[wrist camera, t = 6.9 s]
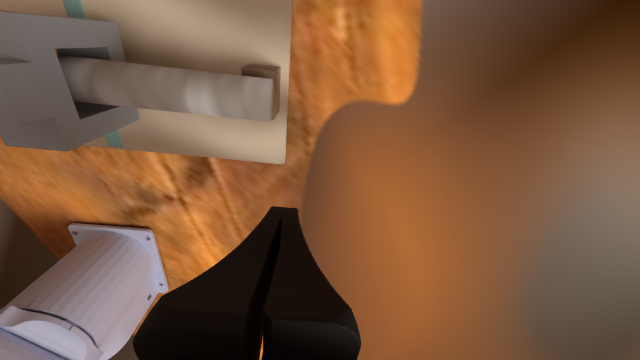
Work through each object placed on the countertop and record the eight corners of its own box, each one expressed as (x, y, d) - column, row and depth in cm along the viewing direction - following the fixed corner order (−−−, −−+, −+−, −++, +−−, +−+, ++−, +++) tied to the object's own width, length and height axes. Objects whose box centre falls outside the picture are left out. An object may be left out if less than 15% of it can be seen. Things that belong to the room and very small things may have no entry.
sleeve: (139, 119, 18) (37, 164, 12) (96, 115, 18) (-33, 158, 11) (116, 22, 15) (-38, 8, 9) (64, 16, 15) (-133, -3, 8)
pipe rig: (285, 159, 22) (274, 198, 17) (56, 137, 21) (-37, 171, 15) (292, -10, 16) (280, -35, 11) (-23, -52, 15) (-216, -105, 10)
